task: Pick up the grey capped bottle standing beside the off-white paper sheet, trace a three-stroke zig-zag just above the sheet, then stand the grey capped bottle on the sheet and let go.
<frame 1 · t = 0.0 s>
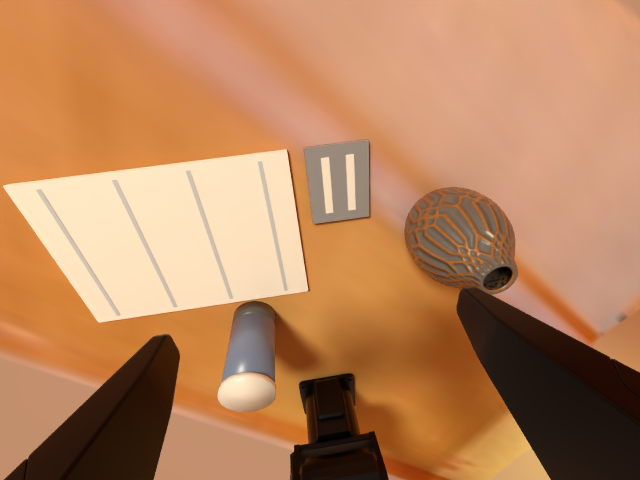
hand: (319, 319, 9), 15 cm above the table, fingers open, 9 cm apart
vase: (432, 214, 25), on the table
paper: (182, 245, 24), on the table
grey capped bottle: (255, 316, 28), on the table
grey striped tile: (338, 183, 22), on the table
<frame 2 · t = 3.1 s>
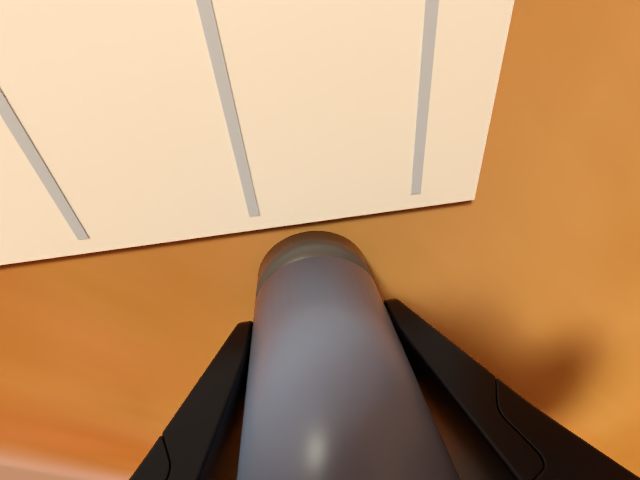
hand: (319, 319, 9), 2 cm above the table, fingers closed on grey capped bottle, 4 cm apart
grey capped bottle: (313, 278, 11), on the table, touching gripper
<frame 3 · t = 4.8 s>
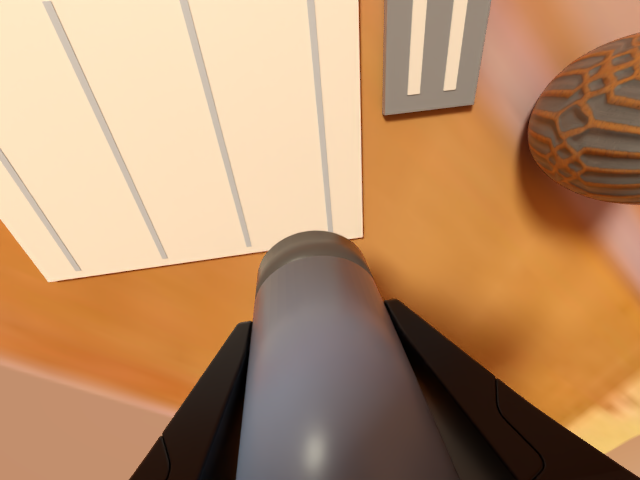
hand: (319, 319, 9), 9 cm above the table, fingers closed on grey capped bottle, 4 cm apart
vase: (562, 110, 16), on the table
paper: (173, 150, 15), on the table
grey capped bottle: (313, 278, 11), point 7 cm above the table, touching gripper
grey striped tile: (432, 38, 13), on the table
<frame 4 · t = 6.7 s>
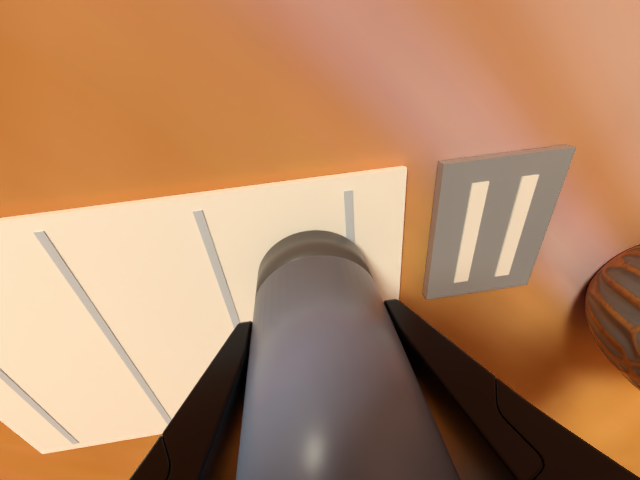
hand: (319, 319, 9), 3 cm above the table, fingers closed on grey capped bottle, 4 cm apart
vase: (623, 274, 14), on the table
paper: (184, 338, 13), on the table
grey capped bottle: (313, 277, 11), point 1 cm above the table, touching gripper
grey striped tile: (485, 228, 12), on the table
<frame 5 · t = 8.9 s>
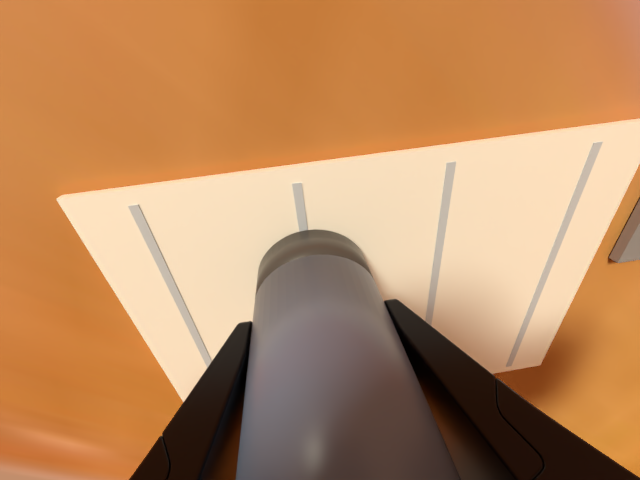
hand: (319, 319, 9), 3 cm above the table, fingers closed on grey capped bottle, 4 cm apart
paper: (372, 303, 13), on the table
grey capped bottle: (313, 277, 11), point 1 cm above the table, touching gripper
when the fingers open (3 cm above the table, at t = 10.8 s): grey capped bottle stays where it is, resting on paper.
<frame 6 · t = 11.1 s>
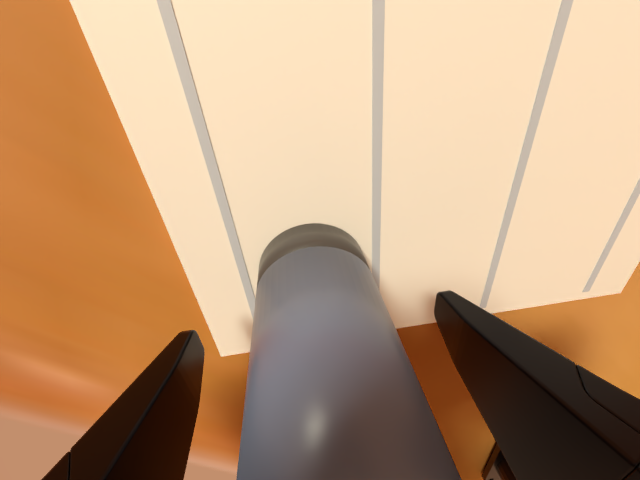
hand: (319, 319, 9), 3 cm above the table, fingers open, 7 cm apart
paper: (443, 189, 10), on the table
grey capped bottle: (312, 269, 11), resting on paper
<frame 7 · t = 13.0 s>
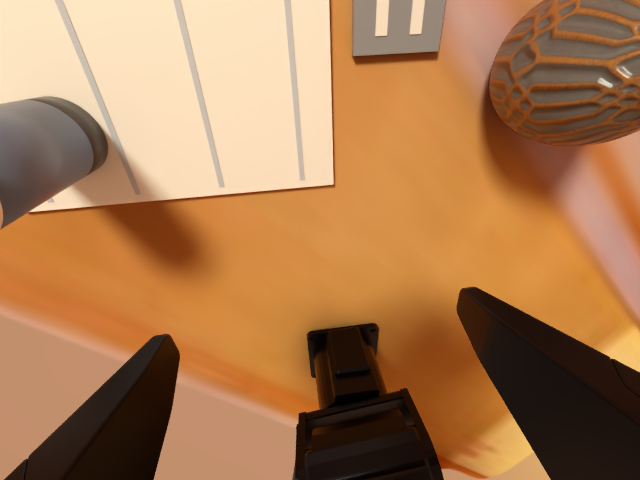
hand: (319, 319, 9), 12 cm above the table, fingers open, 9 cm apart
vase: (524, 66, 17), on the table
paper: (147, 79, 15), on the table
grey capped bottle: (65, 137, 16), resting on paper
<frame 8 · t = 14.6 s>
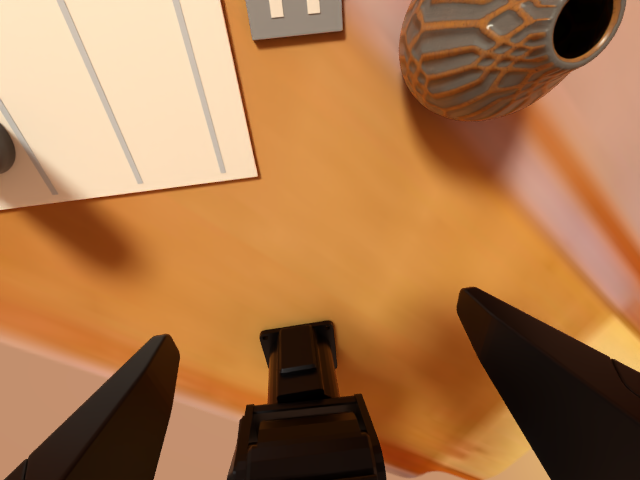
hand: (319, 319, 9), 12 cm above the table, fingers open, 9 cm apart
vase: (442, 42, 16), on the table
paper: (43, 75, 15), on the table
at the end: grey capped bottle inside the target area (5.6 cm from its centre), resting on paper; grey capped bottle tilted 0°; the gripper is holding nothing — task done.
